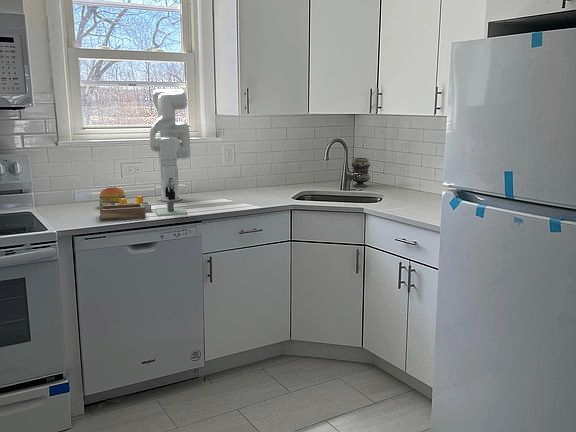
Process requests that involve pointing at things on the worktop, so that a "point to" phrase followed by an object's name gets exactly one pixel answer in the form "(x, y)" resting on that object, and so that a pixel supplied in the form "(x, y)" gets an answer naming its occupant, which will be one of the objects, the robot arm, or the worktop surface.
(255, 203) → the worktop surface
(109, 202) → the burger
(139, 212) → the wooden box
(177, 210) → the mint green slab
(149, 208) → the clamp corral
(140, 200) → the pipe clamp
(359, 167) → the apothecary jar
